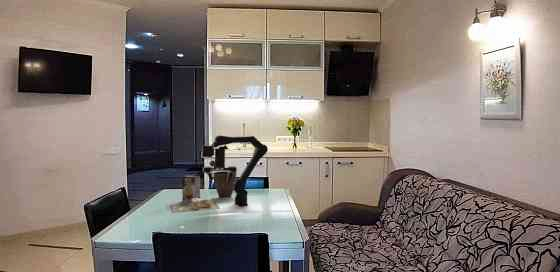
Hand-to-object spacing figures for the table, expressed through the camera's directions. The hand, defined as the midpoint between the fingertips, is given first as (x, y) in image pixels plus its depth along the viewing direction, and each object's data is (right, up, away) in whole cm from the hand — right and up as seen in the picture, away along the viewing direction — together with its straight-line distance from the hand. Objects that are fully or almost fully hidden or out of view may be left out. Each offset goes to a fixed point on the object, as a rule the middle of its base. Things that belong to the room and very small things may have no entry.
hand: (219, 184), depth 224 cm
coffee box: (-19, -13, +13) cm, 27 cm away
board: (-13, -13, -4) cm, 19 cm away
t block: (-10, -12, -3) cm, 16 cm away
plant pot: (0, -12, +27) cm, 29 cm away
